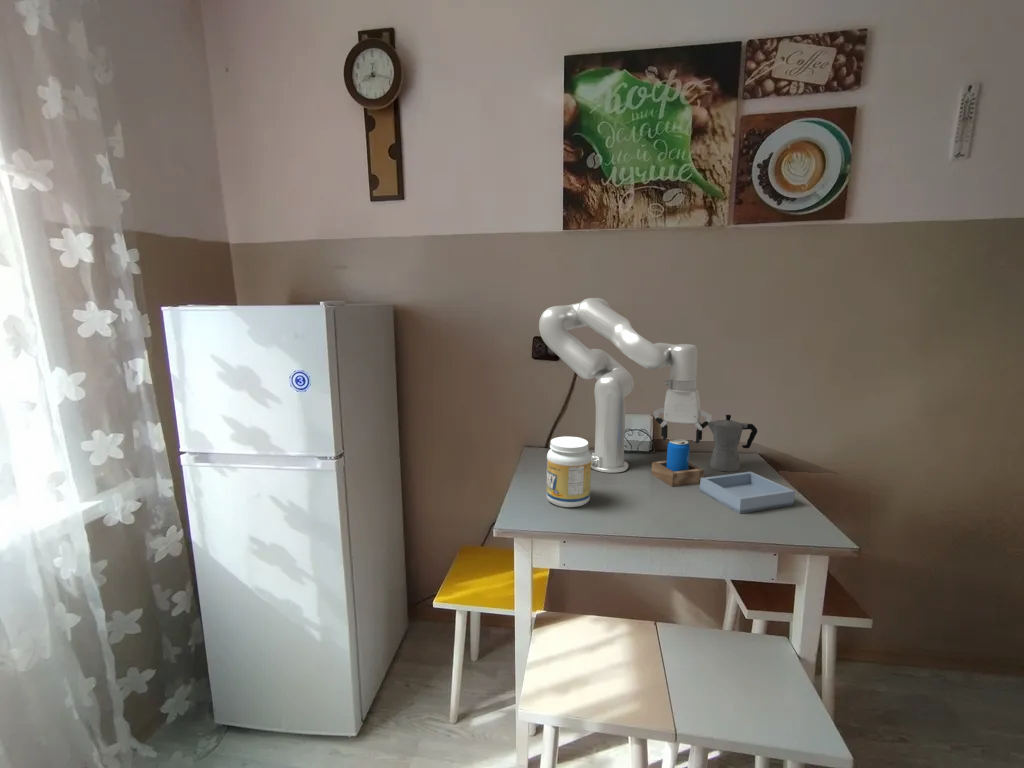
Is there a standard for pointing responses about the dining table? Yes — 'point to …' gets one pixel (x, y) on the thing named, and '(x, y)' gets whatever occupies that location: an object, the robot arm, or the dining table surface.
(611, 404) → the robot arm
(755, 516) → the dining table surface
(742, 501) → the tray
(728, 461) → the coffeepot
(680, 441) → the beverage can
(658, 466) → the brown wooden box
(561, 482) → the supplement tub
